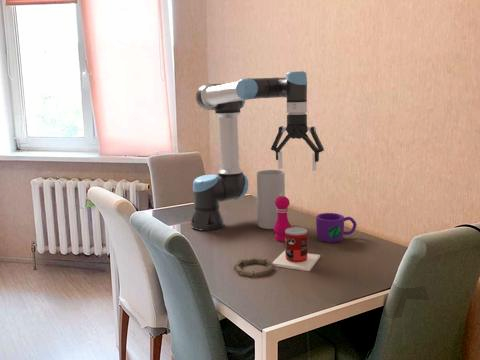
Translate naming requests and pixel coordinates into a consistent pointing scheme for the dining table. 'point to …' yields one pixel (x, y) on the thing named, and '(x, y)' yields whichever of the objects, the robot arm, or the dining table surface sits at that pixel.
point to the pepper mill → (281, 217)
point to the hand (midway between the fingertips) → (297, 169)
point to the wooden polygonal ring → (253, 273)
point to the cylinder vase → (269, 196)
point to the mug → (332, 227)
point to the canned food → (296, 244)
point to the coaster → (304, 265)
